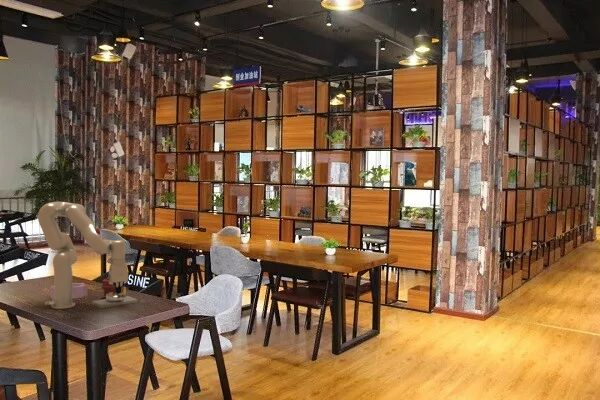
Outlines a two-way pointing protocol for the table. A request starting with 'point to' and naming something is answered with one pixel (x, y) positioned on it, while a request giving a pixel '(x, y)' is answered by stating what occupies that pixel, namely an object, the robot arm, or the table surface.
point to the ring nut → (116, 296)
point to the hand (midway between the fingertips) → (118, 293)
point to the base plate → (103, 302)
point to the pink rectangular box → (75, 290)
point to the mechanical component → (107, 287)
